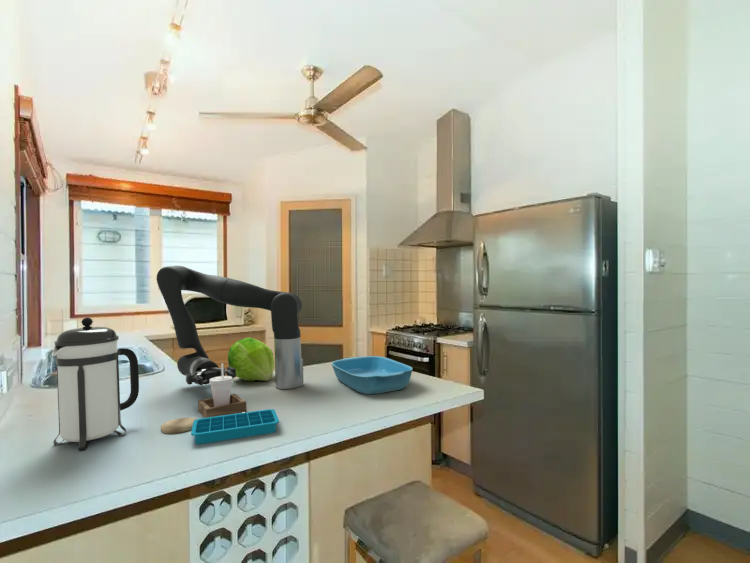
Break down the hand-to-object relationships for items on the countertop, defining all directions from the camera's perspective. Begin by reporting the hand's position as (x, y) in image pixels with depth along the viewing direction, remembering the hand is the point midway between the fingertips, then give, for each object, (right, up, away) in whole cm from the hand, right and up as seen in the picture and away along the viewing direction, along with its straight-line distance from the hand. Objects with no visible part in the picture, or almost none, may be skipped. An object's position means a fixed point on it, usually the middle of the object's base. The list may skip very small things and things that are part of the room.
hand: (216, 379), depth 122 cm
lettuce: (0, -9, +34) cm, 35 cm away
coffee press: (-22, -10, -21) cm, 32 cm away
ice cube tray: (+12, -9, -19) cm, 25 cm away
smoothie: (+3, -9, -3) cm, 10 cm away
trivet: (-4, -9, -15) cm, 18 cm away
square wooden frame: (+3, -9, -3) cm, 10 cm away
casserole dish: (+46, -8, +24) cm, 52 cm away
